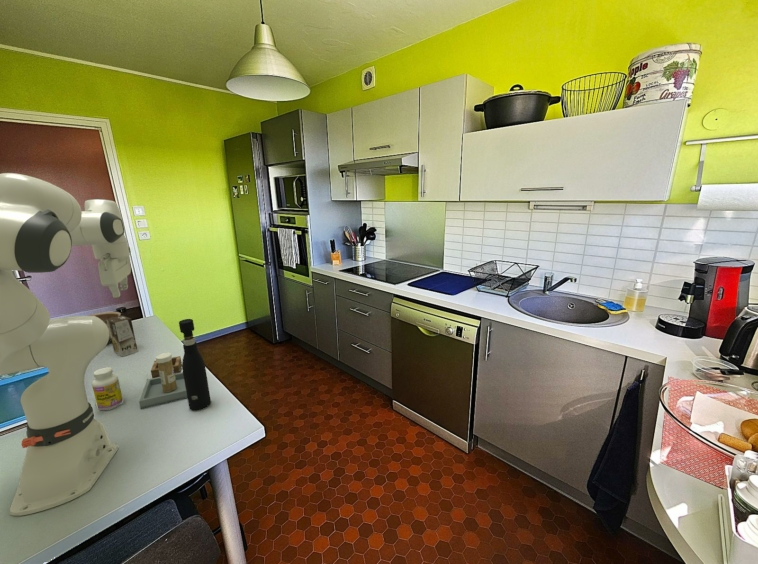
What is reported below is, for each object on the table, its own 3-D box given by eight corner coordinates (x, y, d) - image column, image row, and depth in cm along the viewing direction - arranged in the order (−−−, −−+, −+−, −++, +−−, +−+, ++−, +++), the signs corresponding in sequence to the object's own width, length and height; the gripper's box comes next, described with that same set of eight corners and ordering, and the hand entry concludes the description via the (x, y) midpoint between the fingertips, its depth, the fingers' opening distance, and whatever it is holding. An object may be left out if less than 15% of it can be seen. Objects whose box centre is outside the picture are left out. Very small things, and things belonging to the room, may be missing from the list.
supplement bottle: (95, 413, 104) (85, 378, 101) (101, 402, 110) (93, 368, 107) (120, 407, 107) (112, 373, 104) (125, 397, 113) (118, 364, 109)
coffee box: (138, 351, 147) (131, 318, 143) (122, 357, 142) (114, 322, 138) (130, 346, 152) (122, 314, 148) (113, 352, 147) (105, 319, 143)
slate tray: (192, 396, 112) (191, 389, 112) (140, 409, 106) (139, 401, 105) (195, 376, 125) (194, 369, 125) (148, 386, 119) (147, 379, 118)
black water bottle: (207, 397, 112) (194, 315, 105) (213, 405, 108) (200, 320, 100) (186, 405, 108) (171, 321, 100) (192, 413, 103) (176, 326, 96)
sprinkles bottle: (177, 390, 115) (171, 355, 112) (162, 394, 112) (155, 359, 109) (177, 384, 119) (170, 351, 115) (162, 388, 116) (155, 354, 113)
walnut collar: (179, 374, 127) (178, 365, 126) (152, 380, 123) (150, 371, 122) (181, 364, 135) (180, 356, 134) (156, 369, 131) (154, 360, 130)
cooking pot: (74, 340, 160) (67, 317, 157) (121, 329, 174) (116, 307, 171) (82, 355, 144) (75, 330, 141) (133, 341, 158) (128, 318, 155)
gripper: (115, 255, 95) (124, 300, 98) (131, 246, 113) (138, 285, 116) (87, 257, 92) (98, 303, 96) (108, 248, 110) (117, 287, 114)
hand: (120, 293), depth 106 cm, fingers open, 8 cm apart
